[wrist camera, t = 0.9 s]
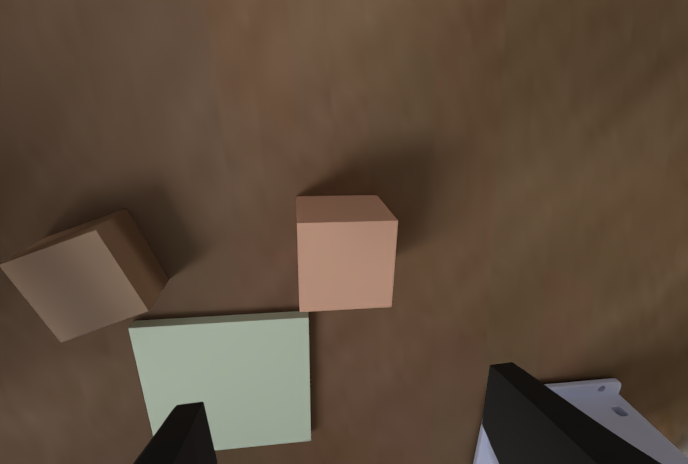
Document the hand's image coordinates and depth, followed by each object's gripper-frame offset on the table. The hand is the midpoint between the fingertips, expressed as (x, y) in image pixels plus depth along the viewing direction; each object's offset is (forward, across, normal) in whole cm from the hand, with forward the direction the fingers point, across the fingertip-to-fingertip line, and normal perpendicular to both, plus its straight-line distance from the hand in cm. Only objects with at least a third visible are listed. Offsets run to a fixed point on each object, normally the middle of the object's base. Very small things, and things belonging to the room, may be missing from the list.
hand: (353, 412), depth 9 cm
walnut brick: (+11, +10, 0) cm, 15 cm away
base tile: (+11, +6, +8) cm, 15 cm away
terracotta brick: (+10, -1, -1) cm, 11 cm away
